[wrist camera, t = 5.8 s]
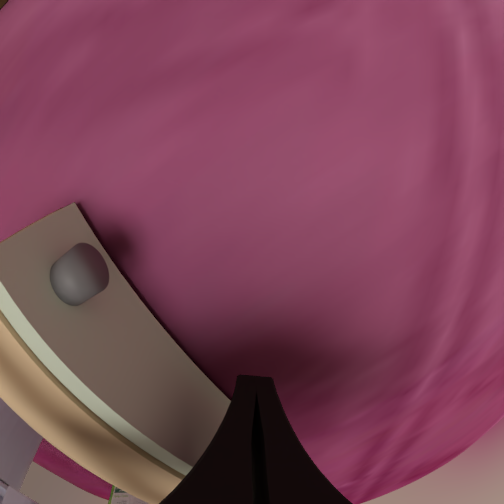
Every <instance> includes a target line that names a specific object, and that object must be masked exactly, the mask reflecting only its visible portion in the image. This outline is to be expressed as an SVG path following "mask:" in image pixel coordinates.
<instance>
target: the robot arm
mask: <svg viewBox="0 0 504 504" xmlns="http://www.w3.org/2000/svg"><path fill="white" fill-rule="evenodd" d="M42 439H43V437H42V436H41V435H40V434H39V433H37V432H36V431H35V430H34V429H33V428H32V427H30V426H29V425H28V424H27V423H26V422H25V421H24V420H23V419H22V418H21V417H20V416H18V415H17V414H16V413H15V412H14V411H13V410H12V409H11V408H10V407H9V406H8V405H7V404H6V403H5V402H4V401H3V400H2V399H1V397H0V504H39V503H37V502H35V501H34V500H32V499H30V498H29V497H27V496H26V495H24V494H22V493H21V492H19V491H20V488H21V486H22V484H23V481H24V479H25V476H26V474H27V471H28V469H29V467H30V465H31V463H32V460H33V458H34V456H35V454H36V452H37V449H38V447H39V445H40V443H41V441H42ZM1 481H2V482H1ZM4 483H5V484H6V485H5V484H4ZM159 504H352V503H351V502H350V501H349V500H348V499H346V498H345V497H344V496H343V495H342V494H341V493H340V492H339V491H338V490H337V489H336V488H335V487H334V486H333V485H332V484H331V483H330V482H329V480H328V479H327V478H326V477H325V476H324V475H323V474H322V472H321V471H320V470H319V469H318V468H317V466H316V465H315V464H314V462H313V461H312V460H311V458H310V457H309V455H308V454H307V452H306V451H305V449H304V448H303V446H302V445H301V443H300V441H299V440H298V438H297V436H296V434H295V432H294V431H293V429H292V427H291V425H290V423H289V421H288V418H287V416H286V414H285V412H284V410H283V407H282V405H281V402H280V400H279V397H278V394H277V392H276V388H275V385H274V381H273V379H272V378H271V377H260V376H249V375H239V376H237V380H236V387H235V390H234V394H233V397H232V400H231V402H230V405H229V407H228V409H227V412H226V414H225V416H224V418H223V421H222V422H221V424H220V426H219V428H218V430H217V432H216V434H215V435H214V437H213V439H212V441H211V442H210V444H209V445H208V447H207V448H206V450H205V451H204V453H203V454H202V456H201V457H200V459H199V460H198V461H197V463H196V464H195V465H194V467H193V468H192V469H191V470H190V472H189V473H188V474H187V475H186V476H185V477H184V479H183V480H182V481H181V482H180V483H179V484H178V485H177V486H176V487H175V489H174V490H173V491H172V492H171V493H169V494H168V495H167V496H166V497H165V498H164V499H163V500H162V501H161V502H160V503H159Z"/></svg>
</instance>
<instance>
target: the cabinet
mask: <svg viewBox="0 0 504 504" xmlns="http://www.w3.org/2000/svg"><path fill="white" fill-rule="evenodd" d="M60 209H62V208H60ZM60 209H59V210H60ZM57 211H58V210H57ZM55 212H56V211H55ZM53 213H54V212H53ZM51 214H52V213H51ZM49 215H50V214H49ZM49 215H47V216H49ZM47 216H45V217H47ZM45 217H43V218H45ZM43 218H41V219H43ZM41 219H40V220H41ZM38 221H39V220H38ZM38 221H36V222H38ZM36 222H34V223H36ZM34 223H32V224H34ZM32 224H30V225H32ZM30 225H29V226H30ZM29 226H27V227H29ZM27 227H25V228H27ZM25 228H23V229H25ZM23 229H22V230H23ZM22 230H20V231H22ZM20 231H18V232H20ZM18 232H17V233H18ZM17 233H15V234H17ZM15 234H13V235H15ZM13 235H12V236H13ZM12 236H10V237H12ZM10 237H8V238H10ZM8 238H7V239H8ZM7 239H5V240H7ZM5 240H3V241H5ZM3 241H2V242H3ZM2 242H0V243H2ZM0 397H1V399H2V400H3V401H4V402H5V403H6V404H7V405H8V406H9V407H10V408H11V409H12V410H13V411H14V412H15V413H16V414H17V415H18V416H20V417H21V418H22V419H23V420H24V421H25V422H26V423H27V424H28V425H29V426H30V427H32V428H33V429H34V430H35V431H36V432H37V433H39V434H40V435H41V436H42V437H43V438H45V439H46V440H47V441H48V442H50V443H51V444H52V445H53V446H55V447H56V448H57V449H59V450H60V451H61V452H63V453H64V454H65V455H67V456H68V457H69V458H71V459H72V460H74V461H75V462H77V463H78V464H80V465H81V466H83V467H84V468H86V469H87V470H89V471H90V472H92V473H93V474H95V475H97V476H98V477H100V478H102V479H103V480H105V481H107V482H108V483H110V484H112V485H114V486H115V487H117V488H119V489H121V490H123V491H125V492H127V493H129V494H131V495H133V496H135V497H137V498H139V499H141V500H143V501H145V502H147V503H149V504H159V503H160V502H161V501H162V500H163V499H164V498H165V497H166V496H167V495H168V494H169V493H171V492H172V491H173V490H174V489H175V487H176V486H177V485H178V484H179V483H180V482H181V481H182V480H183V479H184V477H185V475H183V474H182V473H180V472H178V471H176V470H174V469H173V468H171V467H169V466H168V465H166V464H164V463H163V462H161V461H160V460H158V459H156V458H155V457H153V456H152V455H150V454H149V453H147V452H146V451H144V450H143V449H141V448H140V447H138V446H137V445H135V444H134V443H132V442H131V441H130V440H128V439H127V438H126V437H124V436H123V435H121V434H120V433H119V432H117V431H116V430H115V429H114V428H112V427H111V426H110V425H108V424H107V423H106V422H105V421H103V420H102V419H101V418H100V417H99V416H97V415H96V414H95V413H94V412H93V411H91V410H90V409H89V408H88V407H87V406H86V405H85V404H84V403H82V402H81V401H80V400H79V399H78V398H77V397H76V396H75V395H74V394H73V393H72V392H71V391H69V390H68V389H67V388H66V387H65V386H64V385H63V384H62V383H61V382H60V381H59V380H58V379H57V378H56V377H55V376H54V375H53V374H52V372H51V371H50V370H49V369H48V368H47V367H46V366H45V365H44V364H43V363H42V362H41V361H40V359H39V358H38V357H37V356H36V355H35V354H34V353H33V351H32V350H31V349H30V348H29V347H28V345H27V344H26V343H25V342H24V341H23V339H22V338H21V337H20V336H19V334H18V333H17V332H16V330H15V329H14V328H13V326H12V325H11V324H10V322H9V321H8V320H7V318H6V317H5V316H4V314H3V313H2V311H1V310H0Z"/></svg>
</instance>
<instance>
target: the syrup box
mask: <svg viewBox="0 0 504 504" xmlns="http://www.w3.org/2000/svg"><path fill="white" fill-rule="evenodd" d="M108 504H149V503H147V502H145V501H143V500H141V499H139V498H137V497H135V496H133V495H131V494H129V493H127V492H125V491H123V490H121V489H119V488H117V487H115V486H114V485H113V486H112V490H111V494H110V498H109V502H108Z"/></svg>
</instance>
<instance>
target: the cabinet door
mask: <svg viewBox="0 0 504 504" xmlns="http://www.w3.org/2000/svg"><path fill="white" fill-rule="evenodd" d="M0 310H1V311H2V313H3V314H4V316H5V317H6V318H7V320H8V321H9V322H10V324H11V325H12V326H13V328H14V329H15V330H16V332H17V333H18V334H19V336H20V337H21V338H22V339H23V341H24V342H25V343H26V344H27V345H28V347H29V348H30V349H31V350H32V351H33V353H34V354H35V355H36V356H37V357H38V358H39V359H40V361H41V362H42V363H43V364H44V365H45V366H46V367H47V368H48V369H49V370H50V371H51V372H52V374H53V375H54V376H55V377H56V378H57V379H58V380H59V381H60V382H61V383H62V384H63V385H64V386H65V387H66V388H67V389H68V390H69V391H71V392H72V393H73V394H74V395H75V396H76V397H77V398H78V399H79V400H80V401H81V402H82V403H84V404H85V405H86V406H87V407H88V408H89V409H90V410H91V411H93V412H94V413H95V414H96V415H97V416H99V417H100V418H101V419H102V420H103V421H105V422H106V423H107V424H108V425H110V426H111V427H112V428H114V429H115V430H116V431H117V432H119V433H120V434H121V435H123V436H124V437H126V438H127V439H128V440H130V441H131V442H132V443H134V444H135V445H137V446H138V447H140V448H141V449H143V450H144V451H146V452H147V453H149V454H150V455H152V456H153V457H155V458H156V459H158V460H160V461H161V462H163V463H164V464H166V465H168V466H169V467H171V468H173V469H174V470H176V471H178V472H180V473H182V474H183V475H185V476H186V475H187V474H188V473H189V472H190V470H191V469H192V468H193V467H194V465H195V464H196V463H197V461H198V460H199V459H200V457H201V456H202V454H203V453H204V451H205V450H206V448H207V447H208V445H209V444H210V442H211V441H212V439H213V437H214V435H215V434H216V432H217V430H218V428H219V426H220V424H221V422H222V421H223V418H224V416H225V414H226V412H227V409H228V407H229V405H230V402H231V401H230V400H229V399H228V398H227V397H226V396H225V395H224V394H223V393H222V392H221V391H220V390H219V389H218V388H217V387H216V386H215V385H214V384H213V383H212V382H211V381H210V380H209V379H208V378H207V376H206V375H205V374H204V373H203V372H202V371H201V370H200V369H199V368H198V367H197V366H196V365H195V364H194V363H193V361H192V360H191V359H190V358H189V357H188V356H187V355H186V354H185V353H184V351H183V350H182V349H181V348H180V347H179V346H178V345H177V344H176V342H175V341H174V340H173V339H172V338H171V337H170V335H169V334H168V333H167V332H166V331H165V329H164V328H163V327H162V326H161V325H160V323H159V322H158V321H157V320H156V319H155V317H154V316H153V315H152V314H151V312H150V311H149V310H148V309H147V307H146V306H145V305H144V303H143V302H142V301H141V300H140V298H139V297H138V296H137V294H136V293H135V292H134V290H133V289H132V288H131V286H130V285H129V284H128V282H127V281H126V280H125V278H124V277H123V275H122V274H121V273H120V271H119V270H118V269H117V267H116V266H115V264H114V263H113V261H112V260H111V259H110V257H109V256H108V254H107V253H106V251H105V250H104V248H103V247H102V245H101V244H100V242H99V241H98V239H97V238H96V236H95V235H94V233H93V231H92V230H91V228H90V227H89V225H88V224H87V222H86V220H85V219H84V217H83V215H82V214H81V212H80V211H79V209H78V207H77V206H76V204H75V202H74V203H72V204H70V205H68V206H66V207H64V208H62V209H60V210H58V211H56V212H54V213H52V214H50V215H49V216H47V217H45V218H43V219H41V220H39V221H38V222H36V223H34V224H32V225H30V226H29V227H27V228H25V229H23V230H22V231H20V232H18V233H17V234H15V235H13V236H12V237H10V238H8V239H7V240H5V241H3V242H2V243H0Z"/></svg>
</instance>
